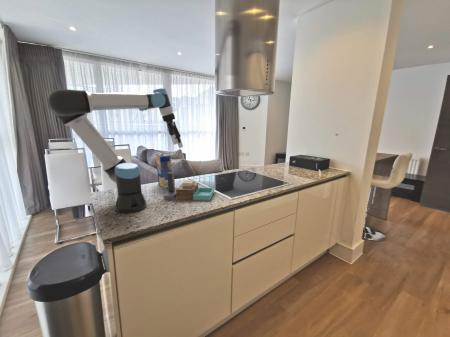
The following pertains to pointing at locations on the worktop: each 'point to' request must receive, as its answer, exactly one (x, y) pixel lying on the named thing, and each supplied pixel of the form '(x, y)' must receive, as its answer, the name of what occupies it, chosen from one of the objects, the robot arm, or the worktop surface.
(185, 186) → the tile
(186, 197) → the brown wooden box
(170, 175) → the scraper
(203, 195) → the tray
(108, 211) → the worktop surface
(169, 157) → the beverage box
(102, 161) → the robot arm
